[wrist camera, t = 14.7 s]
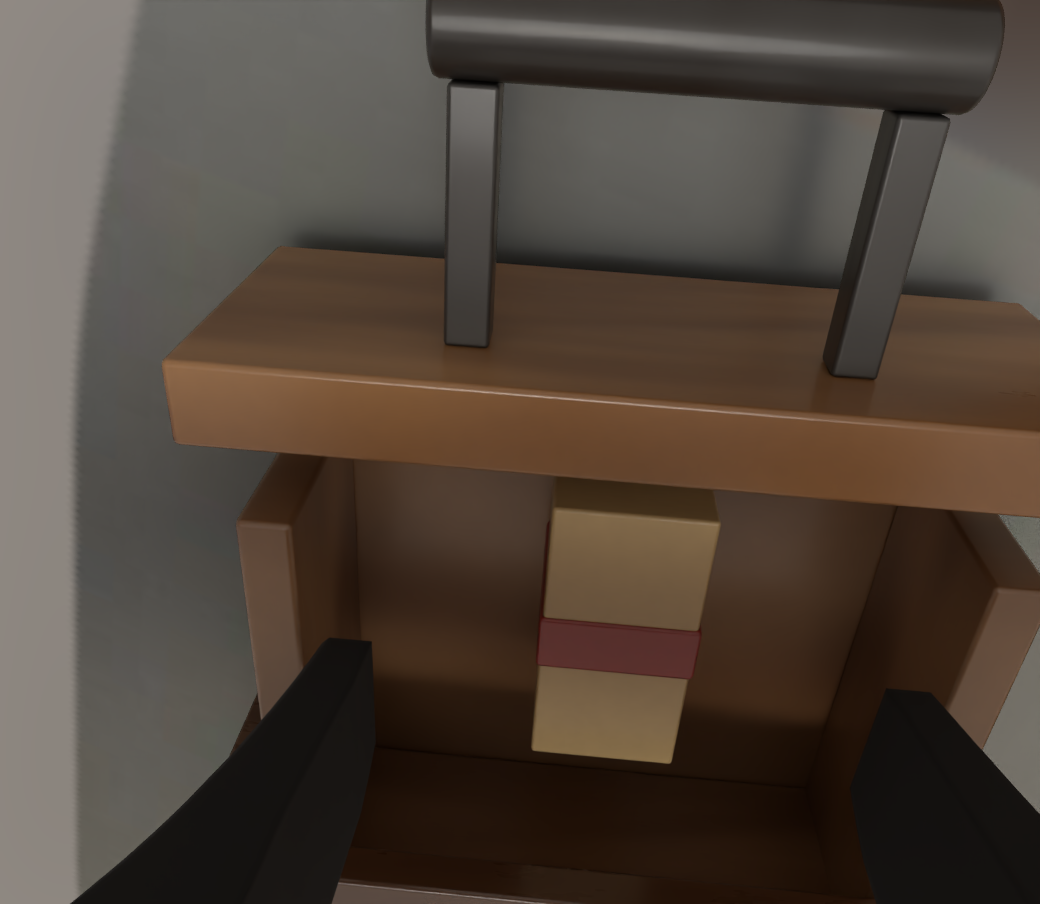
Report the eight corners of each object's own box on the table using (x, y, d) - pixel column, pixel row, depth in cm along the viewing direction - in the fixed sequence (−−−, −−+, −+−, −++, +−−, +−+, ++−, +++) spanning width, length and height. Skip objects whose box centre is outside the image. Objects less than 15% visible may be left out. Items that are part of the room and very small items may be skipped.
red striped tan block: (663, 656, 17) (674, 768, 15) (535, 644, 17) (527, 754, 15) (704, 432, 15) (726, 525, 12) (555, 420, 15) (548, 510, 12)
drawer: (252, -62, 12) (87, -61, 8) (1131, -3, 12) (1404, 25, 8) (318, 727, 20) (249, 921, 16) (849, 777, 20) (914, 990, 16)
